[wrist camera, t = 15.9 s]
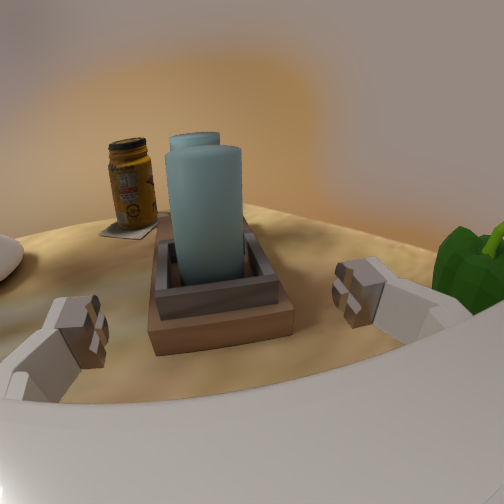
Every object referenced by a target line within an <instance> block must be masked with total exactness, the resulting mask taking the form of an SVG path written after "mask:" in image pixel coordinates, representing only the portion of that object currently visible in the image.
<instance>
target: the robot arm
mask: <svg viewBox="0 0 504 504" xmlns="http://www.w3.org/2000/svg"><path fill="white" fill-rule="evenodd" d="M335 274H336V276H337V277H338V278H337V279H336V281H335V282H334V283H333V288H332V296H333V300H334V303H335V305H336V306H337V308H338V309H340V310H342V311H344V312H345V313H344V318H345V319H346V321H347V322H348V324H349V325H350V326H351V328H352V329H354V328H359V327H363V326H367V325H371V324H373V326H375V327H376V328H378V329H380V330H381V331H383V332H385V333H386V334H388V335H389V336H391V337H393V338H394V339H396V340H398V341H399V342H401V343H403V344H404V345H405V346H402V347H400V348H397V349H394V350H391V351H389V352H386V353H383V354H380V355H377V356H374V357H371V358H368V359H365V360H362V361H359V362H356V363H353V364H349V365H346V366H343V367H339V368H336V369H332V370H329V371H325V372H321V373H318V374H314V375H310V376H306V377H302V378H298V379H294V380H290V381H285V382H281V383H276V384H272V385H267V386H262V387H257V388H252V389H246V390H241V391H235V392H229V393H223V394H216V395H209V396H202V397H194V398H186V399H176V400H166V401H154V402H139V403H117V404H70V403H59V401H60V400H61V398H62V397H63V395H64V394H65V393H66V391H67V390H68V389H69V387H70V386H71V384H72V383H73V382H74V380H75V379H76V378H77V376H78V375H79V373H80V372H81V369H96V368H104V364H105V357H106V351H105V349H104V346H105V345H106V344H107V343H108V338H109V330H108V324H107V320H106V318H105V315H103V314H102V313H101V312H100V311H99V309H100V305H101V304H100V302H99V300H98V297H97V296H96V295H83V296H70V297H59V298H56V299H54V301H53V303H52V305H51V308H50V310H49V312H48V315H47V317H46V319H45V322H44V324H43V326H42V329H41V330H37V331H36V332H34V333H33V334H32V335H31V336H30V337H29V338H27V339H26V340H25V341H24V342H23V343H22V344H21V345H19V346H18V347H17V348H16V349H15V350H14V351H13V352H12V353H10V354H9V355H8V356H7V357H6V358H5V359H4V360H3V361H2V362H1V363H0V504H504V300H502V301H501V302H499V303H497V304H495V305H493V306H491V307H489V308H488V309H486V310H484V311H482V312H480V313H478V314H476V315H474V316H473V315H472V314H471V313H470V312H469V311H468V310H467V309H466V308H465V307H464V306H463V305H462V304H461V303H460V302H459V301H458V300H457V299H456V298H453V297H451V296H448V295H445V294H443V293H440V292H438V291H435V290H433V289H430V288H427V287H425V286H422V285H420V284H417V283H414V282H412V281H409V280H406V279H404V278H402V279H399V278H398V277H397V276H396V275H395V274H394V273H393V272H392V271H391V270H390V269H389V268H388V267H387V266H386V265H385V264H384V263H383V262H381V261H380V260H379V259H378V258H377V257H374V256H372V257H367V258H362V259H358V260H353V261H347V262H341V263H338V264H337V266H336V270H335Z"/></svg>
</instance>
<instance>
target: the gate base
mask: <svg viewBox="0 0 504 504" xmlns="http://www.w3.org/2000/svg"><path fill="white" fill-rule="evenodd" d="M169 141H170V152H171V151H174V150H177V149H182V148H187V147H194V146H205V145H220V135H219V133H218V132H197V133H187V134H180V135H176V136H172V137H170V138H169ZM243 251H244V278H243V279H236V280H229V281H222V282H215V283H207V284H200V285H193V286H185V287H182V285H181V280H180V274H179V268H178V261H177V255H176V248H175V241H174V234H173V227H172V219H171V215H169V216H162V217H159V219H158V227H157V234H156V242H155V250H154V259H153V268H152V278H151V289H150V302H149V316H148V334H149V337H150V340H151V343H152V346H153V349H154V351H155V354H156V356H162V355H171V354H179V353H187V352H195V351H202V350H209V349H216V348H222V347H228V346H234V345H240V344H246V343H252V342H257V341H263V340H268V339H273V338H278V337H283V336H288V335H292V331H293V321H294V310H295V309H294V307H293V305H292V303H291V302H290V300H289V298H288V296H287V294H286V292H285V291H284V289H283V287H282V285H281V283H280V282H279V279H278V277H277V275H276V273H275V272H274V270H273V268H272V266H271V264H270V263H269V261H268V259H267V257H266V255H265V253H264V252H263V250H262V248H261V246H260V244H259V243H258V241H257V239H256V237H255V235H254V234H253V232H252V230H251V229H250V227H249V225H248V223H247V222H246V220H245V218H244V216H243Z"/></svg>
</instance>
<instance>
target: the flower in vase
mask: <svg viewBox="0 0 504 504" xmlns="http://www.w3.org/2000/svg"><path fill="white" fill-rule="evenodd" d="M23 253H24V248H23V246H22V245H21V244H20V243H19V242H18V241H16V240H14V239H12V238H10V237H7V236H4V235H1V234H0V281H2V280H3V279H5V278H6V277H7V276H8V275H9V274H10V273H11V272H12V271H13V270H14V269H15V268H16V267H17V266H18V265H19V263H20V262H21V260H22V258H23Z"/></svg>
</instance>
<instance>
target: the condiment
mask: <svg viewBox="0 0 504 504" xmlns="http://www.w3.org/2000/svg"><path fill="white" fill-rule="evenodd" d="M108 149H109V152H110V153H109V158H110V162H109V165H108V170H109V176H110V183H111V188H112V194H113V200H114V206H115V210H116V216H117V222H115V223H113V224H111V225H110V226H109V227H108V228H107V229H105V230H103V231H102V232H101V233H99V234H98V235H103V236H111V237H118V238H130V239H141V238H142V237H143V236H144V235H146V234H147V232H148V231H150V230H151V229H152V228H153V227H155V226H156V225H157V224H158V219H159V217H162V216H167V215H168V214H169V213H158V212H157V205H156V198H155V191H154V183H153V175H152V167H151V159H150V157H149V156H148V155H147V152H148V149H147V147H146V139H145V138H141V137H139V138H130V139H125V140H120V141H116V142H113V143H111V144H109V148H108ZM117 227H118V228H117ZM134 232H135V233H134Z"/></svg>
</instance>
